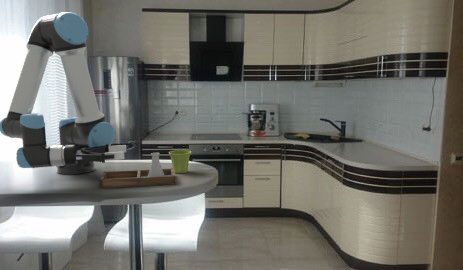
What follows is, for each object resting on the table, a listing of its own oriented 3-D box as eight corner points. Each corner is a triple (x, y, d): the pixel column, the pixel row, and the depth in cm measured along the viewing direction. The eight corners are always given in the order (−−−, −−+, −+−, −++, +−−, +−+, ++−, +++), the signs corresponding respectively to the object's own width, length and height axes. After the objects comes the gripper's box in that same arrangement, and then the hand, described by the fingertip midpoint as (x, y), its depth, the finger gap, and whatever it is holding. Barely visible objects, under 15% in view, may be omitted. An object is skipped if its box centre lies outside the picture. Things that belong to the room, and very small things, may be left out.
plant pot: (181, 175, 156) (181, 154, 155) (164, 172, 161) (164, 152, 160) (195, 171, 164) (195, 151, 162) (179, 168, 169) (178, 149, 167)
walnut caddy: (104, 179, 150) (103, 171, 149) (173, 175, 156) (172, 168, 155) (100, 188, 136) (99, 180, 136) (175, 183, 142) (175, 176, 142)
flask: (161, 181, 143) (161, 155, 142) (143, 180, 144) (142, 154, 143) (168, 176, 150) (167, 152, 149) (150, 176, 151) (149, 151, 150)
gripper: (72, 158, 151) (127, 155, 156) (58, 173, 127) (123, 169, 131) (70, 139, 150) (126, 136, 154) (56, 151, 126) (122, 147, 130)
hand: (125, 151), depth 143 cm, fingers open, 13 cm apart
